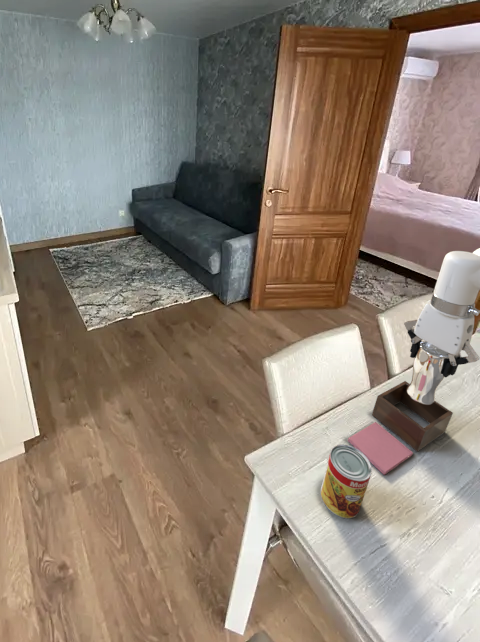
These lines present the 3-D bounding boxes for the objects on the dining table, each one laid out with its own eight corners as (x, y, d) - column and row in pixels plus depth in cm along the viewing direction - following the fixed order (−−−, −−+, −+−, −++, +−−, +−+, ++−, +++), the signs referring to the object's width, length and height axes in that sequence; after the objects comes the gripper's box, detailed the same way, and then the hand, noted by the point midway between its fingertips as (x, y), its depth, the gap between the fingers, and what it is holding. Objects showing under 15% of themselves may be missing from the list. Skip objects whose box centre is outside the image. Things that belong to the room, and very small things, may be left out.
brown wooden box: (398, 399, 102) (405, 380, 99) (444, 432, 91) (453, 412, 89) (371, 414, 96) (377, 395, 94) (417, 451, 86) (425, 431, 84)
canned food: (352, 527, 71) (365, 489, 66) (314, 499, 75) (324, 462, 71) (364, 497, 76) (376, 460, 71) (328, 473, 81) (337, 437, 76)
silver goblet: (405, 381, 94) (419, 336, 89) (436, 393, 91) (453, 346, 85) (403, 398, 89) (418, 351, 84) (436, 410, 85) (454, 362, 80)
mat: (374, 424, 93) (375, 421, 93) (412, 455, 85) (413, 452, 85) (347, 440, 89) (348, 438, 88) (384, 475, 81) (385, 472, 80)
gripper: (505, 318, 74) (479, 382, 81) (421, 284, 88) (404, 341, 95) (488, 328, 71) (462, 394, 77) (403, 291, 85) (387, 349, 92)
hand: (430, 364), depth 86 cm, fingers closed on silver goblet, 7 cm apart
